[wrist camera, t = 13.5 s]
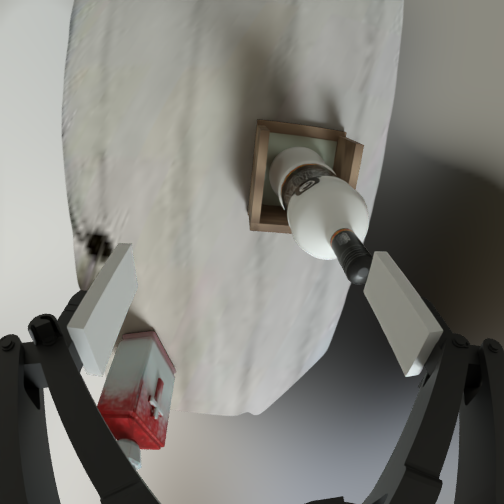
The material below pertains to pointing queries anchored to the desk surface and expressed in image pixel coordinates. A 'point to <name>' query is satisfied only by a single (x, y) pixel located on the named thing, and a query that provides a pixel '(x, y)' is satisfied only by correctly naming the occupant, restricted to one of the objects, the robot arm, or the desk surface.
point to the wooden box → (286, 136)
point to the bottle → (138, 394)
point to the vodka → (322, 210)
